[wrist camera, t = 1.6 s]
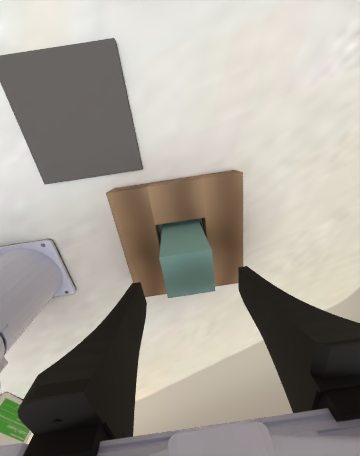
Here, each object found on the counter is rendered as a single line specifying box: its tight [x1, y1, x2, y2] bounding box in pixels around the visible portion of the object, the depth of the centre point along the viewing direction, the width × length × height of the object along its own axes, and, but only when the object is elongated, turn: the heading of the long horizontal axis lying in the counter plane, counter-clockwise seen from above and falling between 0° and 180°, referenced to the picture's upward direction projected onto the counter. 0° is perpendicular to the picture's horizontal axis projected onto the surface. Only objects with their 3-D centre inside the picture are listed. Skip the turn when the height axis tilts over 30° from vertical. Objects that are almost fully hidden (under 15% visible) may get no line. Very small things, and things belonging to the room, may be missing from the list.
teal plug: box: [159, 219, 215, 298], centre depth 18 cm, size 4×4×8 cm
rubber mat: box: [0, 38, 143, 184], centre depth 16 cm, size 10×10×1 cm
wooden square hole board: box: [106, 170, 243, 297], centre depth 20 cm, size 13×13×2 cm
